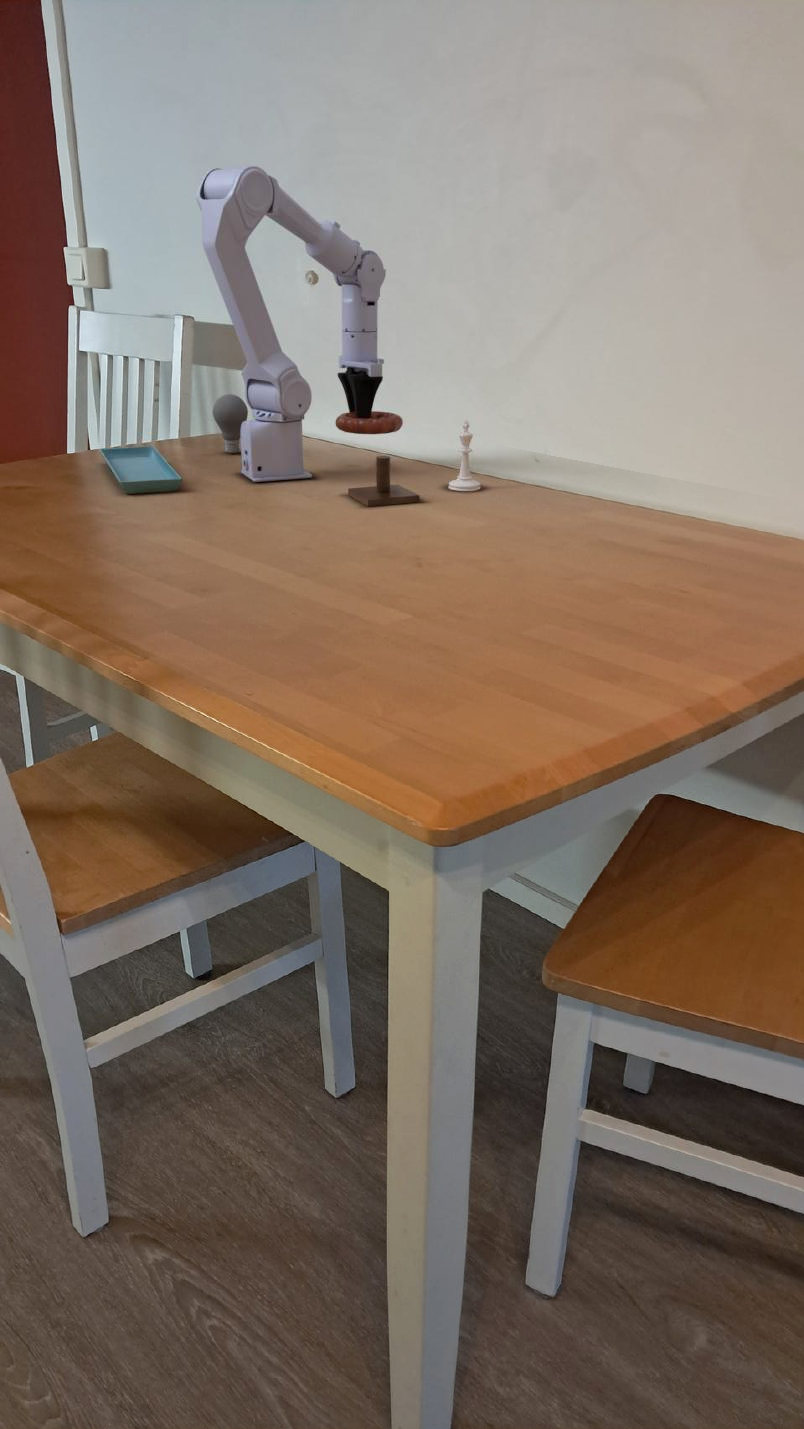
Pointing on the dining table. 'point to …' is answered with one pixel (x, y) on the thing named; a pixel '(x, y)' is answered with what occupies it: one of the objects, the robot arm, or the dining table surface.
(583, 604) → the dining table surface
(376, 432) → the ring
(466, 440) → the chess piece
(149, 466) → the teal serving tray
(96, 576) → the dining table surface
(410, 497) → the post
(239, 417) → the light bulb
